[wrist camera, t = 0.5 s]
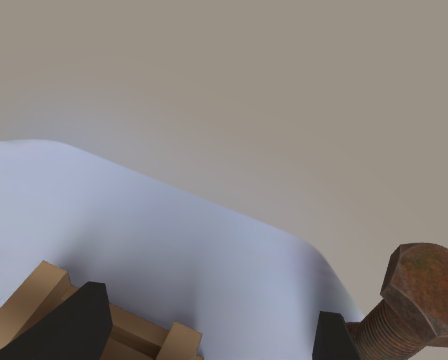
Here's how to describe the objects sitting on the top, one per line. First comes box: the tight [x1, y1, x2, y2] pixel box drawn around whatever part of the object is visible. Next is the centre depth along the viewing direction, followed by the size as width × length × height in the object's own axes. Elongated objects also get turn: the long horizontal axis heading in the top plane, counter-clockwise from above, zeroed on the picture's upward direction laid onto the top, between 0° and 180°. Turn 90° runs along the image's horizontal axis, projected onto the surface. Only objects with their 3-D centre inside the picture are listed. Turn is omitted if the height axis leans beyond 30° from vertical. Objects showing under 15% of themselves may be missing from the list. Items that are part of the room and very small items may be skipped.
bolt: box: [345, 243, 448, 360], centre depth 24 cm, size 6×5×15 cm
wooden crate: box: [0, 260, 204, 360], centre depth 25 cm, size 8×14×6 cm, turn 69°
